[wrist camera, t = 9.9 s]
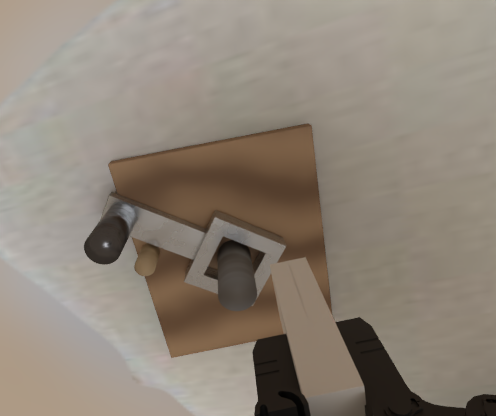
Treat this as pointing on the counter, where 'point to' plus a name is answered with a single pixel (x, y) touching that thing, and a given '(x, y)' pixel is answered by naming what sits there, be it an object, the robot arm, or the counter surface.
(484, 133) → the counter surface
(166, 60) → the counter surface
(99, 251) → the square frame with handle
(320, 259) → the board
